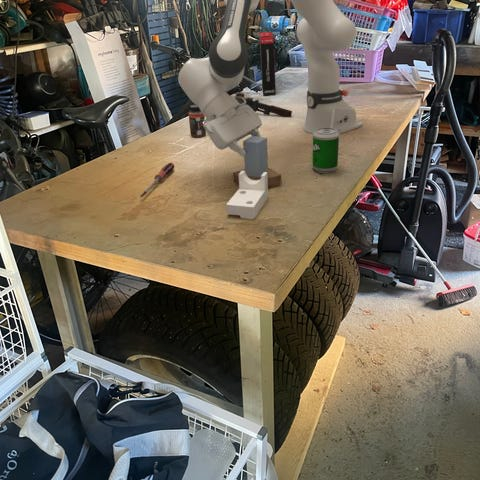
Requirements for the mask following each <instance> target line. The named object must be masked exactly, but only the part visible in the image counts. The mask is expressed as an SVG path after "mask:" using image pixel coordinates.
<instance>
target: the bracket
mask: <svg viewBox="0 0 480 480" xmlns="http://www.w3.org/2000/svg"><path fill="white" fill-rule="evenodd" d="M268 199H269V188H268V175H267V172H264V173H263V174H262V175H261V179H260V180H257V181H254V180H251V179H249V178H248V177H247V175H246V173H245V171H241V172H240V173H239V185H238V190H236V192H235V193H234V194H233V196H232V197H231V198H230V199H229V201H227V203H226V206H225V208H226V215H233V216H239V217H240V218H241V219H247V220H255V219H256V217H257V215H258V214H259V212H260V211H261V209H262V207H264V205H265V203H266V202H267V201H268Z"/></svg>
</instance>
